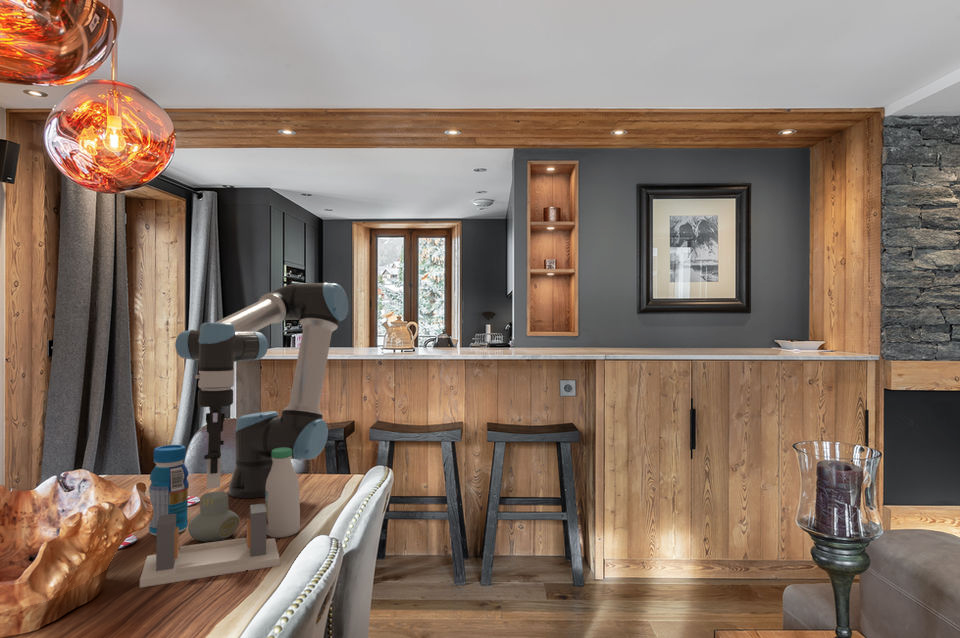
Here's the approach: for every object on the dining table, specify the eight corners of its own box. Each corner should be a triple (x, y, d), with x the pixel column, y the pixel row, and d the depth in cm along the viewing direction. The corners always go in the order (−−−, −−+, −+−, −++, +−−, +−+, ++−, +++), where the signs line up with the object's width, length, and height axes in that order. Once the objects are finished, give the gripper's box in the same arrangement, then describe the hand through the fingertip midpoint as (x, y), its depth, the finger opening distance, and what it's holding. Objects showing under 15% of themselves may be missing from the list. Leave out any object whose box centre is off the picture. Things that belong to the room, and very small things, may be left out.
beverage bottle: (143, 538, 132) (144, 452, 132) (154, 526, 140) (155, 444, 140) (183, 535, 134) (184, 450, 134) (191, 523, 142) (192, 442, 142)
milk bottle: (306, 528, 138) (305, 446, 137) (284, 541, 131) (282, 455, 130) (281, 523, 141) (280, 443, 140) (258, 535, 134) (257, 451, 133)
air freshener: (215, 527, 139) (216, 486, 139) (244, 531, 137) (245, 489, 137) (181, 544, 128) (182, 500, 128) (212, 548, 126) (213, 503, 126)
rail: (147, 563, 118) (148, 512, 118) (274, 544, 129) (275, 498, 129) (139, 587, 107) (140, 531, 108) (279, 565, 118) (280, 514, 118)
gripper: (199, 384, 143) (197, 469, 142) (195, 394, 120) (193, 496, 120) (232, 383, 146) (230, 466, 145) (234, 393, 123) (232, 492, 123)
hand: (213, 480), depth 132 cm, fingers open, 13 cm apart
